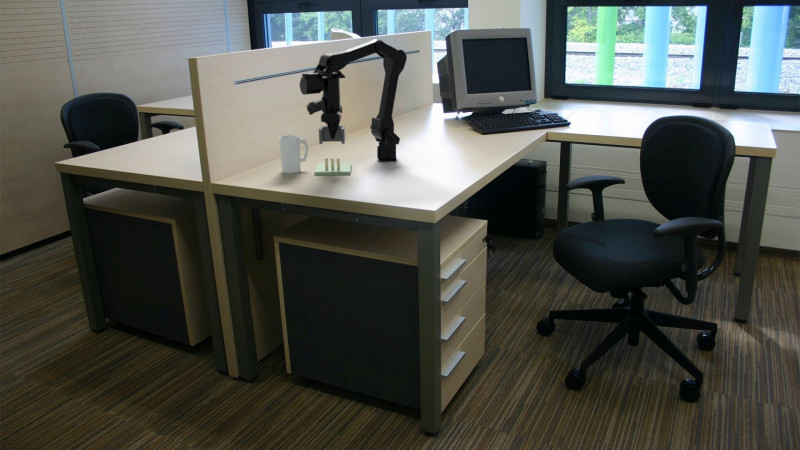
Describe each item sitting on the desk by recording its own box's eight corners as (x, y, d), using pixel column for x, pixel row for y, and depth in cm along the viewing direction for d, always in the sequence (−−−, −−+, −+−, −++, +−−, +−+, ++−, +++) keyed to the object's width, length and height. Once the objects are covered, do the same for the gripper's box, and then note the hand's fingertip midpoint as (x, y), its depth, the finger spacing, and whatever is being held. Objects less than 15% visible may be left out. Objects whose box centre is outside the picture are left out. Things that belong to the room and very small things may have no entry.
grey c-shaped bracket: (320, 139, 229) (320, 125, 228) (345, 139, 230) (344, 125, 228) (319, 143, 224) (318, 129, 222) (344, 143, 224) (344, 129, 222)
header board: (351, 165, 235) (351, 151, 233) (350, 174, 223) (349, 160, 222) (317, 165, 234) (316, 152, 232) (314, 175, 223) (314, 160, 221)
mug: (286, 174, 223) (284, 140, 219) (278, 170, 228) (276, 136, 224) (313, 170, 228) (311, 136, 224) (304, 166, 234) (303, 132, 229)
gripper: (309, 88, 231) (311, 132, 237) (304, 96, 214) (306, 144, 219) (341, 88, 232) (343, 132, 237) (339, 96, 214) (340, 143, 219)
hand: (332, 137), depth 228 cm, fingers closed on grey c-shaped bracket, 2 cm apart
